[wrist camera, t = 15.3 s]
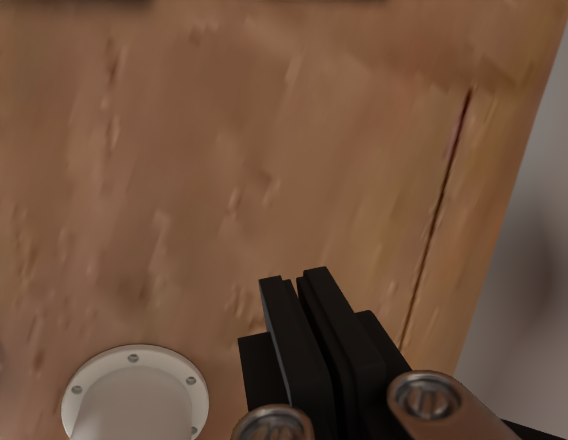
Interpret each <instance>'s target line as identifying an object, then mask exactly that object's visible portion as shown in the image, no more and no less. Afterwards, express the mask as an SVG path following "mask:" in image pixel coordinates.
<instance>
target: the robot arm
mask: <svg viewBox="0 0 568 440" xmlns="http://www.w3.org/2000/svg"><path fill="white" fill-rule="evenodd" d="M296 283H297V291H298V297H297V294H296V292H295V290H294V287H293V285H292V282H291V280H290V279H288V280H282V278H281V276H280V275H279V276H274V277H269V278H264V279H259V287H260V293H261V299H262V305H263V311H264V317H265V323H266V329H267V332H265V333H260V334H255V335H251V336H246V337H241V338H238V345H239V352H240V359H241V365H242V372H243V378H244V385H245V392H246V398H247V405H248V413H247V414H246V415H245V416H243V417H242V418H241V419H240V420H239V421H238V423H237V424H236V426H235V427H234V428H233V431H232V435H231V438H230V440H566V439H563V438H560V437H557V436H554V435H551V434H547V433H544V432H541V431H538V430H535V429H532V428H529V427H525V426H522V425H519V424H516V423H513V422H510V421H507V420H503V419H500V418H498V417H497V416H496V415H495V414H494V413H493V412H492V411H491V410H490V409H489V408H487V407H486V406H485V405H484V404H483V403H482V402H481V401H480V400H479V399H478V398H477V397H476V396H474V395H473V394H472V393H471V392H470V391H469V390H468V389H467V388H466V387H465V386H464V385H463V384H462V383H460V382H459V381H457V380H456V379H454V378H453V377H451V376H449V375H447V374H444V373H442V372H437V371H432V370H414V371H413V370H412V369H411V368H410V366H409V365H408V363H407V362H406V360H405V359H404V357H403V356H402V354H401V353H400V352H399V350H398V349H397V347H396V346H395V344H394V343H393V341H392V340H391V338H390V337H389V336H388V334H387V333H386V331H385V330H384V328H383V327H382V325H381V324H380V322H379V321H378V319H377V318H376V317H375V315H374V314H373V313H372V311H370V310H366V311H362V312H357V313H354V311H353V310H352V308H351V306H350V305H349V303H348V301H347V300H346V298H345V297H344V295H343V293H342V292H341V290H340V288H339V287H338V285H337V284H336V282H335V280H334V279H333V277H332V275H331V274H330V272H329V271H328V269H327V267H326V266H323V267H318V268H313V269H309V270H304V271H303V277H298V278H296ZM298 298H299V299H298ZM208 409H209V395H208V389H207V386H206V382H205V380H204V378H203V376H202V374H201V373H200V371H199V370H198V369H197V368H196V367H195V365H194V364H193V363H191V362H190V361H189V360H188V359H186V358H185V357H184V356H182V355H180V354H178V353H176V352H174V351H172V350H169V349H166V348H163V347H160V346H153V345H146V344H137V345H126V346H120V347H115V348H113V349H110V350H107V351H104V352H102V353H100V354H98V355H96V356H95V357H93V358H91V359H90V360H88V361H87V362H86V363H85V364H84V365H82V366H81V367H80V368H79V369H78V370H77V372H76V373H75V374H74V375H73V377H72V378H71V380H70V382H69V384H68V386H67V388H66V391H65V394H64V397H63V400H62V408H61V415H62V422H63V425H64V427H65V430H66V432H67V434H68V436H69V437H70V440H195V438H196V437H197V436H198V435H199V433H200V432H201V430H202V428H203V427H204V425H205V422H206V419H207V416H208Z"/></svg>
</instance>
